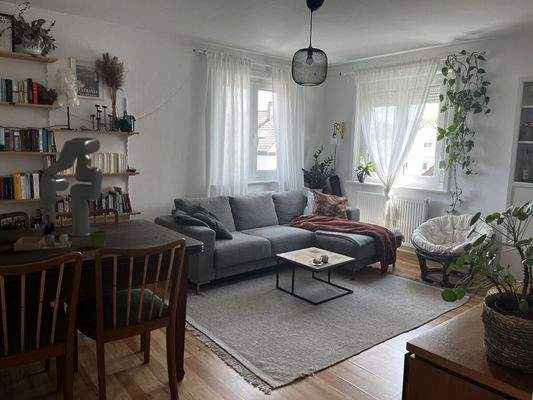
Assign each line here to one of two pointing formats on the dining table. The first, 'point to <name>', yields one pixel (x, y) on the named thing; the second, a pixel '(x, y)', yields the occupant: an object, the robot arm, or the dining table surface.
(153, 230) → the dining table surface
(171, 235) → the dining table surface
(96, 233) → the plant pot
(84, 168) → the robot arm
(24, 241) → the brown shallow rectangular tray
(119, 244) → the dining table surface
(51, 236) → the pebble dark
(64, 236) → the pebble grey
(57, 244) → the birch tray
